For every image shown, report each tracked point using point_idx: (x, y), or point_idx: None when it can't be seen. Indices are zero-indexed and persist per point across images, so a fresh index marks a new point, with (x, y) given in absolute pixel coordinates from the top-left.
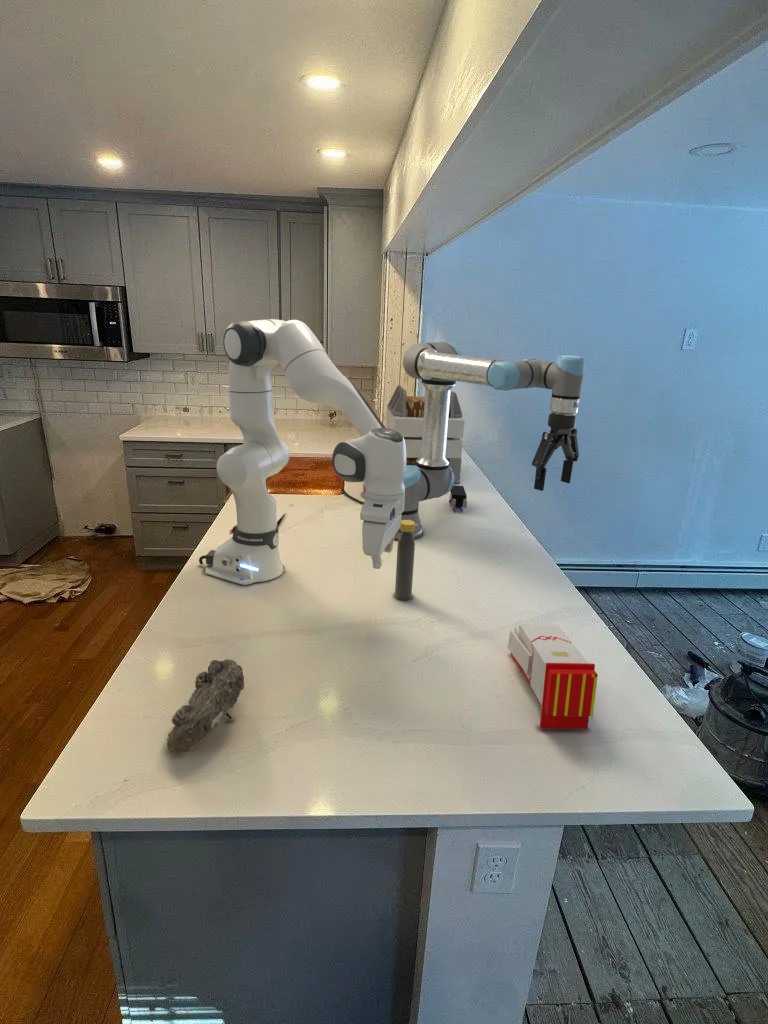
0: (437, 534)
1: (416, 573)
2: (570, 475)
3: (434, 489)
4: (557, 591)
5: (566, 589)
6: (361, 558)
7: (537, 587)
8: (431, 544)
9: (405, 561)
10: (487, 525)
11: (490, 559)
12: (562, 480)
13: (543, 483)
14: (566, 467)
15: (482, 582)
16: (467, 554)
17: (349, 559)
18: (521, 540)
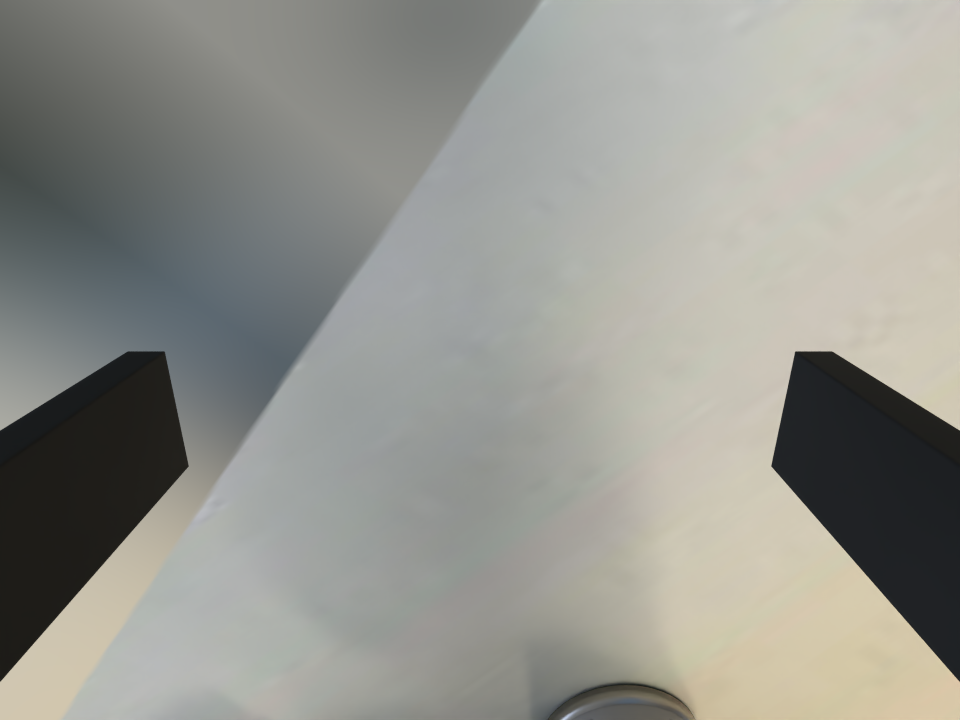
0: (520, 671)
1: None
2: (69, 401)
3: None
4: (586, 39)
5: (531, 22)
6: (902, 668)
7: (623, 129)
8: (615, 628)
9: None
10: (271, 634)
11: (544, 427)
12: (177, 450)
13: (889, 395)
14: (21, 563)
15: (763, 310)
16: (580, 505)
17: (936, 681)
18: (262, 472)
